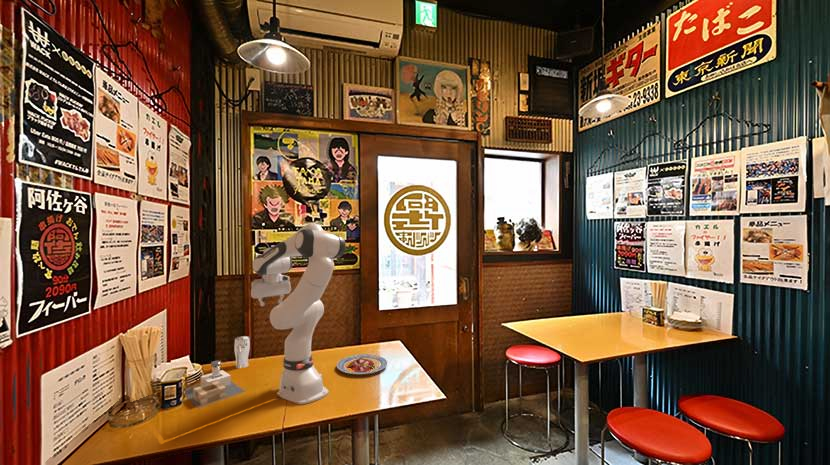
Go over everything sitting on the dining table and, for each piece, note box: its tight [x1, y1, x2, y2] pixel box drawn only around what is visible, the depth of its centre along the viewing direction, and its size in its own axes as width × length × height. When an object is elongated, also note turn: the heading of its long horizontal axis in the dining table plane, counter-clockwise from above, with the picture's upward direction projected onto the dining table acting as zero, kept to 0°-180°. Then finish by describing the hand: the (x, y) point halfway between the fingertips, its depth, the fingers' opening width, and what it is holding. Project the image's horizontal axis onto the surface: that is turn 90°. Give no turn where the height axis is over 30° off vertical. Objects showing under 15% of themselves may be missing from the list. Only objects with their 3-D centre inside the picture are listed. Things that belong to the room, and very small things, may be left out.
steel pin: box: [210, 360, 222, 379], centre depth 150 cm, size 4×4×10 cm
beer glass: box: [234, 335, 251, 369], centre depth 171 cm, size 7×7×15 cm
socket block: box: [200, 369, 232, 386], centre depth 150 cm, size 9×9×4 cm
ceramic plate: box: [336, 353, 388, 375], centre depth 174 cm, size 26×26×3 cm
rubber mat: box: [183, 380, 246, 409], centre depth 144 cm, size 22×18×1 cm
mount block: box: [193, 381, 226, 405], centre depth 138 cm, size 9×9×4 cm
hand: (271, 304), depth 177 cm, fingers open, 8 cm apart
